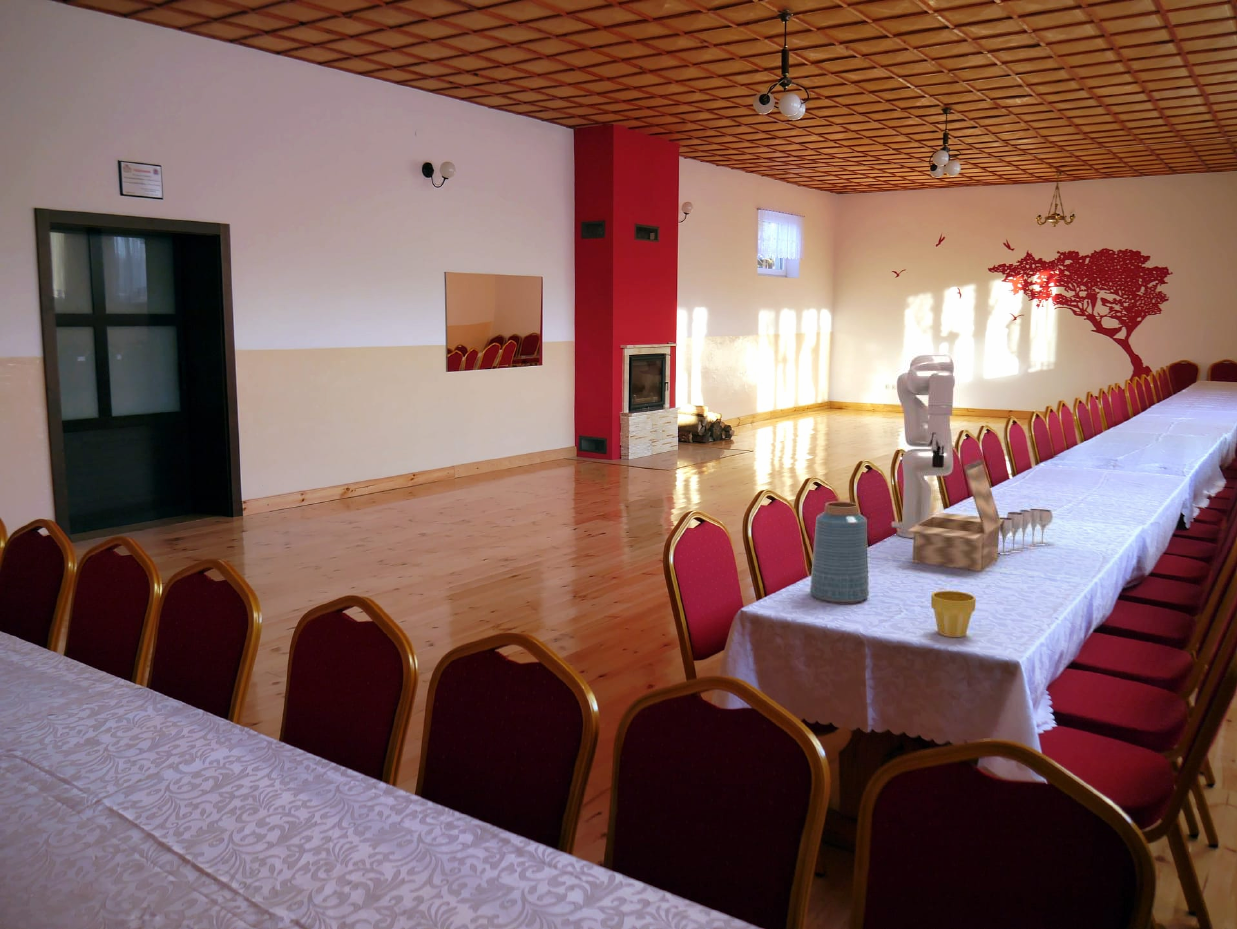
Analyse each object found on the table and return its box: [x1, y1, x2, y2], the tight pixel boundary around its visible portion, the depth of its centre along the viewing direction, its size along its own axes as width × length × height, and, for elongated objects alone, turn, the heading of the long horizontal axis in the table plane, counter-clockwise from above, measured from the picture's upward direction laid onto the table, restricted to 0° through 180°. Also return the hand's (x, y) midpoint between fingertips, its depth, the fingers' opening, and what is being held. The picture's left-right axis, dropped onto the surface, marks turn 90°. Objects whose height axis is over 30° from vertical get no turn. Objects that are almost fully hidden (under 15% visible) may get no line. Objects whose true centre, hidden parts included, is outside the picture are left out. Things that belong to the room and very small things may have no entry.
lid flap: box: [963, 459, 1001, 534], centre depth 307 cm, size 22×18×1 cm
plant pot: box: [930, 590, 977, 638], centre depth 242 cm, size 10×10×10 cm
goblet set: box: [998, 508, 1054, 556], centre depth 330 cm, size 28×6×13 cm, turn 125°
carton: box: [908, 512, 1004, 572], centre depth 314 cm, size 22×34×12 cm, turn 145°
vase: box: [809, 500, 870, 605], centre depth 273 cm, size 16×16×27 cm
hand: (937, 467), depth 314 cm, fingers closed
